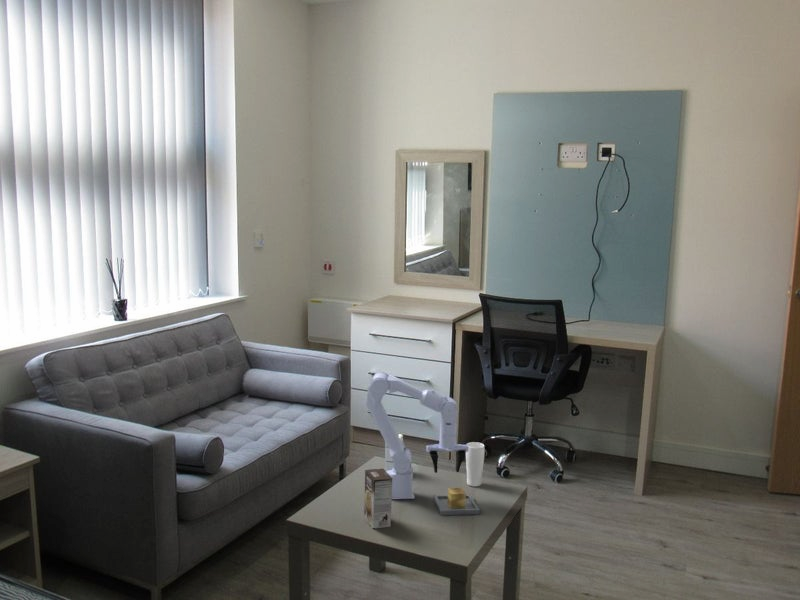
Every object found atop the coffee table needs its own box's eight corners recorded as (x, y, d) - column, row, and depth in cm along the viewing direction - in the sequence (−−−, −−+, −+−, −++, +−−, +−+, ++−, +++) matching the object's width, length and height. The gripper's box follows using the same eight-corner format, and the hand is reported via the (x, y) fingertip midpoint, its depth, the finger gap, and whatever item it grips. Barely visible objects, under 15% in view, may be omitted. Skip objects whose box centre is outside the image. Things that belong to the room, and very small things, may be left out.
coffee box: (363, 517, 232) (364, 469, 230) (381, 514, 234) (383, 467, 232) (372, 529, 223) (373, 479, 221) (391, 526, 225) (393, 477, 223)
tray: (440, 515, 235) (441, 510, 235) (433, 499, 248) (433, 495, 248) (479, 514, 237) (479, 509, 237) (470, 498, 250) (470, 494, 250)
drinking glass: (482, 488, 259) (483, 448, 257) (463, 487, 260) (465, 447, 258) (484, 481, 265) (485, 442, 263) (465, 480, 266) (467, 441, 265)
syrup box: (399, 475, 269) (400, 438, 267) (384, 473, 270) (385, 436, 268) (402, 470, 275) (403, 433, 273) (387, 468, 276) (388, 432, 274)
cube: (450, 508, 239) (451, 494, 239) (447, 502, 244) (447, 488, 244) (465, 507, 240) (465, 493, 240) (461, 501, 245) (462, 487, 244)
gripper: (429, 437, 242) (428, 476, 244) (471, 437, 244) (469, 475, 246) (425, 431, 249) (424, 468, 251) (466, 430, 251) (464, 467, 253)
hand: (446, 471), depth 249 cm, fingers open, 7 cm apart
